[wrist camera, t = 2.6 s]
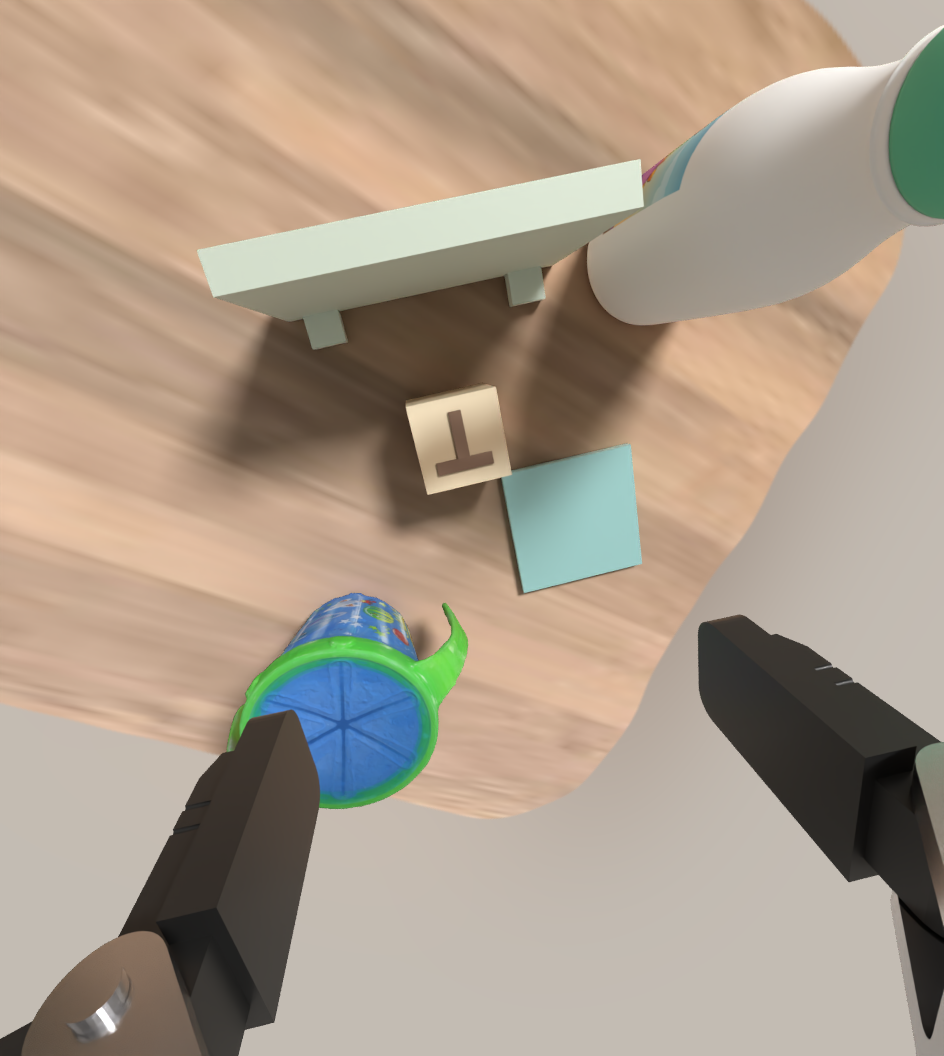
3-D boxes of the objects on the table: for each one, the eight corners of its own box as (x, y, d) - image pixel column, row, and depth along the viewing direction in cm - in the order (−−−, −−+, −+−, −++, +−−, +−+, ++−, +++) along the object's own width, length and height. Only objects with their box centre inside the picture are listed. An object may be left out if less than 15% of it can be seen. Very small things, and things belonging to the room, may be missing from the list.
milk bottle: (703, 316, 32) (1141, 251, 13) (588, 335, 31) (867, 298, 12) (703, 175, 29) (1255, -166, 10) (577, 194, 28) (913, -128, 10)
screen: (270, 260, 27) (175, 191, 16) (544, 203, 28) (636, 100, 17) (298, 353, 29) (231, 348, 18) (556, 296, 30) (647, 258, 19)
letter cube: (405, 400, 31) (405, 407, 26) (482, 382, 31) (496, 386, 26) (425, 477, 33) (428, 498, 28) (497, 460, 33) (513, 478, 28)
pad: (500, 473, 33) (501, 475, 33) (626, 443, 34) (630, 444, 33) (522, 589, 36) (524, 593, 36) (638, 560, 37) (641, 563, 36)
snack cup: (431, 534, 34) (442, 603, 24) (481, 654, 38) (507, 754, 28) (221, 615, 34) (149, 715, 24) (291, 727, 38) (252, 852, 28)
